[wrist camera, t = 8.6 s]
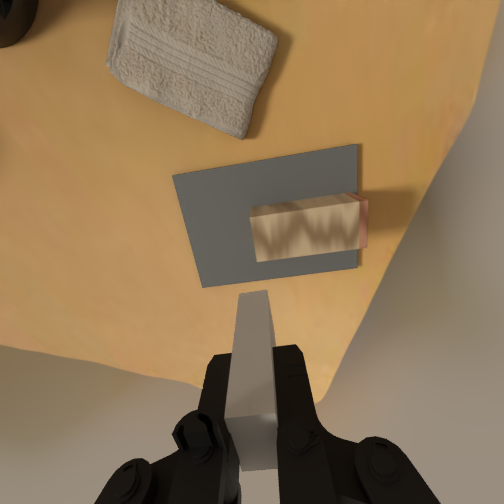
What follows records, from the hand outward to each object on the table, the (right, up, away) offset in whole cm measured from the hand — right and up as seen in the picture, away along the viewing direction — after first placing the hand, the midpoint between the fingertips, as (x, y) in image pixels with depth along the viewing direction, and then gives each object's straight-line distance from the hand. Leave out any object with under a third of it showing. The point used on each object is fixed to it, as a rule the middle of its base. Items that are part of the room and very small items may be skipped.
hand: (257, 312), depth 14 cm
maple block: (0, +6, +20) cm, 21 cm away
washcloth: (-7, +27, +17) cm, 32 cm away
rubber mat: (+2, +8, +24) cm, 25 cm away
